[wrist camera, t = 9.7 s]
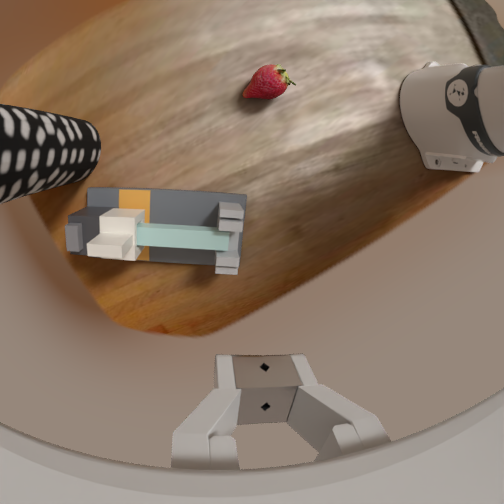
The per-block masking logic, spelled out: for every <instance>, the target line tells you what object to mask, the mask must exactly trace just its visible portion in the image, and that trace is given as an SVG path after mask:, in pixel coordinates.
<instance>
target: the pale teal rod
mask: <svg viewBox="0 0 504 504" xmlns="http://www.w3.org/2000/svg"><path fill="white" fill-rule="evenodd" d="M229 234H230V232H229V231H219V229H218V227H205V226H189V225H172V224H153V223H138V224H137V245H142V246H158V247H174V248H191V249H207V250H223V251H228V245H229Z"/></svg>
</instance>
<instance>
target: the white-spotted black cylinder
mask: <svg viewBox="0 0 504 504" xmlns="http://www.w3.org/2000/svg"><path fill="white" fill-rule="evenodd" d="M100 152H101V141H100V136H99V134H98V131H97V130H96V128H95V127H94V126H93V125H92V124H91V123H89V122H87V121H85V120H81V119H77V118H72V117H68V116H63V115H59V114H54V113H49V112H44V111H39V110H34V109H28V108H22V107H17V106H10V105H4V104H0V204H1V203H5V202H8V201H10V200H14V199H17V198H20V197H23V196H26V195H30V194H33V193H37V192H40V191H43V190H47V189H51V188H54V187H58V186H62V185H66V184H70V183H74V182H78V181H80V180H83V179H84V178H86V177H87V176H88V175H89V174H90V173H91V172H92V171H93V170H94V168H95V167H96V165H97V163H98V160H99V157H100Z"/></svg>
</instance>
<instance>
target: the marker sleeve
mask: <svg viewBox="0 0 504 504" xmlns="http://www.w3.org/2000/svg"><path fill="white" fill-rule="evenodd" d="M99 220H100V234H99V235H97V236H96V237H95V238H93V239H92V240H91V241H90V242H88V243H87V254H88V256H93V257H101V258H103V259H117V260H131V261H135V260H136V259H137V257H138V256H139V255H140V253H141V252H142V250H143V249H144V246H142V245H137V224H138V223H145V209H122V208H113V209H111V210H109V211H108V212H106V213H104V214H103V215H101V216H99Z"/></svg>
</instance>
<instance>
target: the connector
mask: <svg viewBox="0 0 504 504" xmlns="http://www.w3.org/2000/svg"><path fill="white" fill-rule="evenodd" d="M113 208H115V207H89V206H87V207H85V208H83V209H81V210H79V211H77V212H75V213H72V214H70V215H68V224H67V225H65V234H66V246H67V251H70V252H71V254H75V255H88V254H87V243H88V242H90V241H91V240H92V239H93V238H95V237H96V236H97V235H99V234H100V220H99V216H101V215H103V214H104V213H106V212H108V211H109V210H111V209H113Z"/></svg>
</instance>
